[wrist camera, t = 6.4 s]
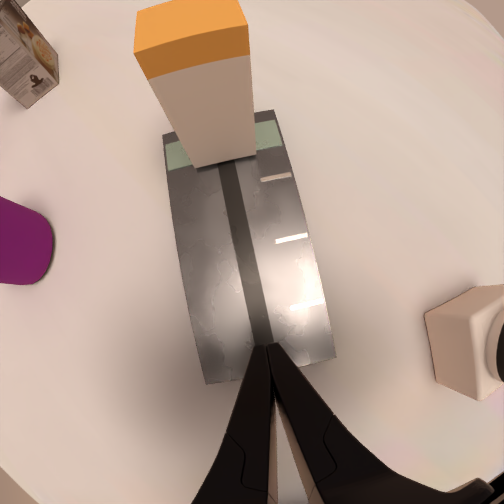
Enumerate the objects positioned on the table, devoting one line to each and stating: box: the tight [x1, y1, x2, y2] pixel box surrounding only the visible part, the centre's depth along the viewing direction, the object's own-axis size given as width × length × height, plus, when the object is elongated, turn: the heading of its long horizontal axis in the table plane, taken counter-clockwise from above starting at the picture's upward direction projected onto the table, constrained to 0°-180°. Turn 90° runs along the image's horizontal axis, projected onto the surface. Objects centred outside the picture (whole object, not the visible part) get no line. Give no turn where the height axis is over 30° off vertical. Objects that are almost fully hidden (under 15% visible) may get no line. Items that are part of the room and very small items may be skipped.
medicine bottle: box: [424, 284, 504, 401], centre depth 16 cm, size 7×7×12 cm
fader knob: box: [134, 0, 256, 168], centre depth 16 cm, size 4×5×13 cm
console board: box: [162, 110, 336, 384], centre depth 23 cm, size 21×10×2 cm, turn 12°
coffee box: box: [0, 0, 59, 108], centre depth 20 cm, size 9×6×16 cm
